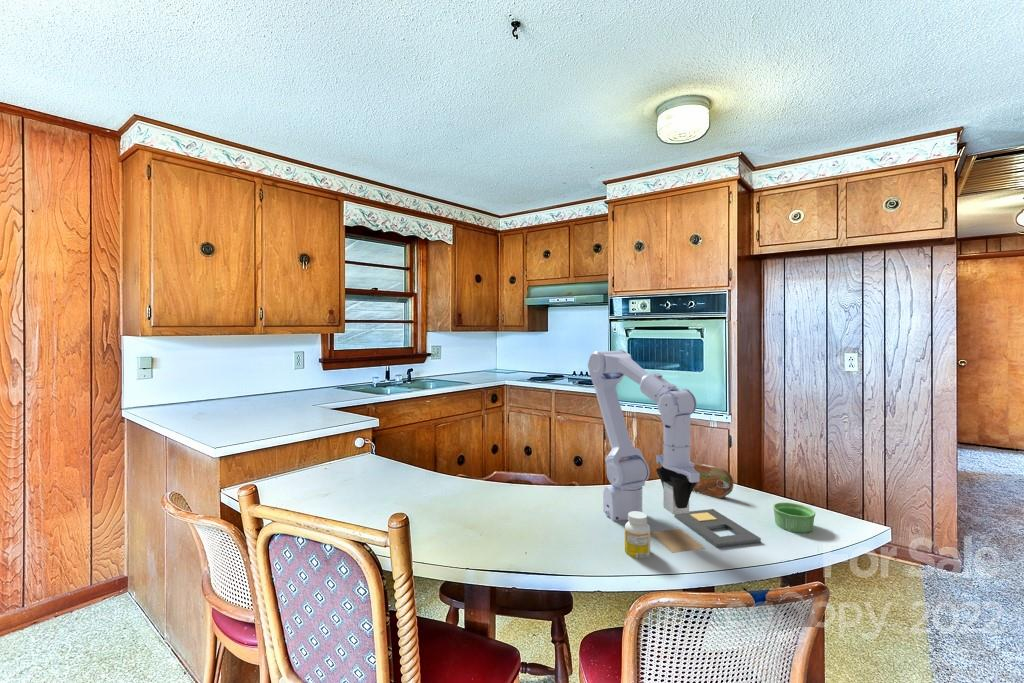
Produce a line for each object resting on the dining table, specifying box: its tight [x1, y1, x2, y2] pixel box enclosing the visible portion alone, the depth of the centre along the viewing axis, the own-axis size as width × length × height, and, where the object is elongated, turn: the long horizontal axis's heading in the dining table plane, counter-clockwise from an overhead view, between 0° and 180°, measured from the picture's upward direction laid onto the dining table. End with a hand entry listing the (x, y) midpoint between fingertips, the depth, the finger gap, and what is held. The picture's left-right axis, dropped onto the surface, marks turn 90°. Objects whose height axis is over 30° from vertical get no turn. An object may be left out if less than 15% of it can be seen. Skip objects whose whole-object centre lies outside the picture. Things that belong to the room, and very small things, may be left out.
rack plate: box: [673, 508, 762, 549], centre depth 113 cm, size 11×17×3 cm, turn 12°
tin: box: [692, 462, 734, 499], centre depth 140 cm, size 15×3×8 cm, turn 42°
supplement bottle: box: [624, 511, 651, 559], centre depth 102 cm, size 5×5×10 cm
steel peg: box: [663, 481, 690, 515], centre depth 107 cm, size 4×4×6 cm
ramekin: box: [772, 501, 816, 534], centre depth 118 cm, size 9×9×4 cm
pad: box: [650, 528, 706, 553], centre depth 108 cm, size 8×10×2 cm
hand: (676, 503), depth 107 cm, fingers closed on steel peg, 4 cm apart
